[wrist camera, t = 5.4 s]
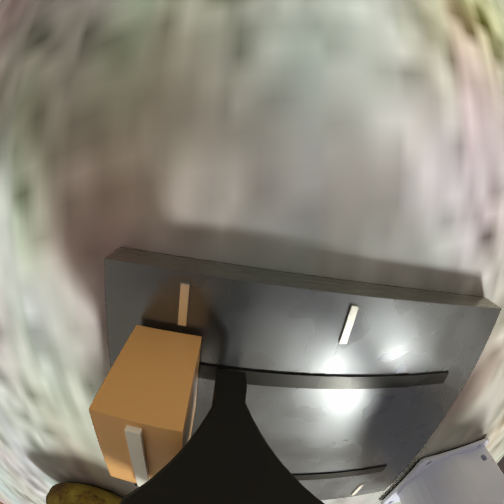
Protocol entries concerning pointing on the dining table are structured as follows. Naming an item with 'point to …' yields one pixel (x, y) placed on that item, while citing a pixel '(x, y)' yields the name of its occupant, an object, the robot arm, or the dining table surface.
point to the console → (311, 357)
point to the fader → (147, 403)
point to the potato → (80, 495)
